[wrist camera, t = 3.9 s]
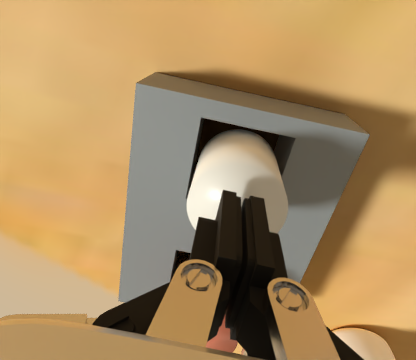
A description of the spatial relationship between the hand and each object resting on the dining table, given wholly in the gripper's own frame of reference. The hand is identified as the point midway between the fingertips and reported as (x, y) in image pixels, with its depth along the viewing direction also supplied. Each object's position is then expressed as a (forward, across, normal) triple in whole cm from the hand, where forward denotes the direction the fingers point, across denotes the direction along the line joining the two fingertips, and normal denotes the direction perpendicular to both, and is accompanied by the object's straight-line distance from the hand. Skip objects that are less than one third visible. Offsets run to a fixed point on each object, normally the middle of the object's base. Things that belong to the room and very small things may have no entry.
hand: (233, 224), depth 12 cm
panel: (+9, 0, +4) cm, 10 cm away
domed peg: (+5, 0, 0) cm, 6 cm away
